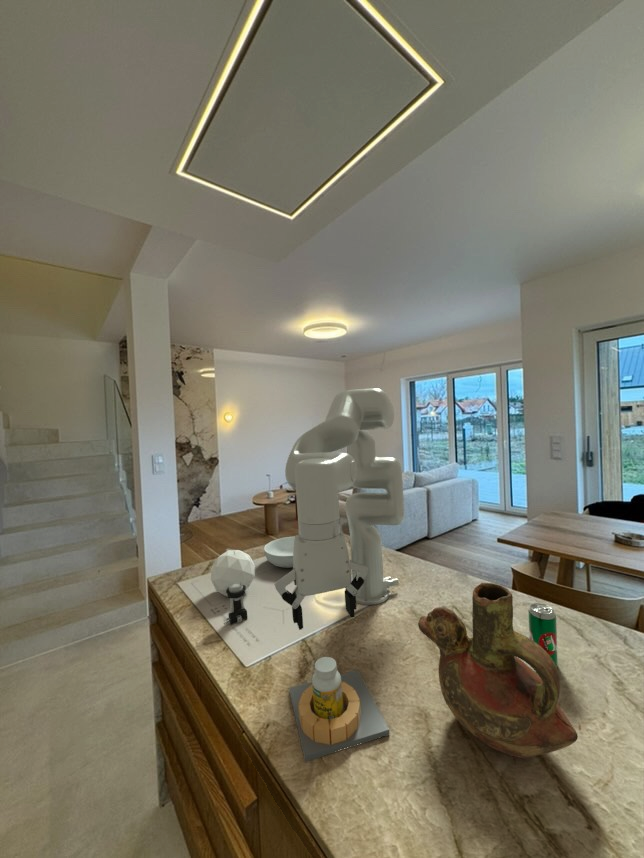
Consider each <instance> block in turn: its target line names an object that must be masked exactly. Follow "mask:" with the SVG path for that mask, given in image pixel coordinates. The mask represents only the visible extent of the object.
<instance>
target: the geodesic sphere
mask: <svg viewBox="0 0 644 858" xmlns="http://www.w3.org/2000/svg"><path fill="white" fill-rule="evenodd" d="M225 550H226V551H225V552H223V553H222V554H221V555H219V556H218V557H217V558H216V560H215V561H214V562H213V564H212V566H211V568H210V580H211V583H212V585H213V587H214V589H215V592H218V593H220V594H222V595H224V596H226V597H228V595H227V593H226V589H227V588H228V587H229V586H230V585H231V584H233V583H236V582H239V583H242V585H244V586H245V587H246V590H248V589H249V587H250V586H251V584H252V582H253V581H254V579H255V575H256V574H255V572H256V567H255V563H254V561H253V559H252V557H251V556H250V554H248V553H246V552H245V551H242V550H240V549H235V548H234V549H233V548H230V547H229V548H226V549H225Z"/></svg>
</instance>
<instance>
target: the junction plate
mask: <svg viewBox="0 0 644 858" xmlns="http://www.w3.org/2000/svg"><path fill="white" fill-rule="evenodd" d="M340 676H341V681H342V683H343V682H345V683H347V684H348V685H350V686H351V687H353V688H354V690H355V691H356V693H357V695H358V697H359V699H360V711H361V716H360V722H359V727H358V729H357V730H356V731H355V732H354V733H353V734H352V735H351V736H350V737H349V738H346V740H345V741H341V742H338V743H335V744H331V742H330V745H329V744H324V743H319V742H315V740H314V741H313V740H312V739H310V738H309V737H308V736H307V735H306V734H305V733H304V732H303V730H302V728H301V724H300V720H299V708H298V703H299V701H300V698H301V696H302V693H303V692H304V691H305V690H306V689H307V688H308V687H309V686H311V685H312V681H310V682H306V683H303V684H299V685H296V686H292V687H290V686H289V687H288V690H289V696H290V701H291V705H292V709H293V713H294V718H295V722H296V726H297V730H298V731H297V733H298V737H299V740H300V745H301V749H302V752H303V753H302V754H303V758H304V762H309V761H313V760H315V759H318V758H321V756H322V757H325V756H328V755H331V754H333V752H335V751H338V750H340V749H344V748H347V747H350V746H353V747H355V746H354V745H357V744H360V743H363V744H365V743H364V742H366V743H369V742H372V741H374V740H373V739H375V740H378V739H377V738H379V737H380V738H379V739H381V737H382V736H385V735H386V736H385V737H387V735H388V736H390V735H391V734H390V728H389V726H388V724H387V722H386V721H385V718H384V716H383V714H382V713H381V711H380V708H379V707H378V705H377V703H376V701H375V700H374V697H373V696H372V694H371V692H370V689H369V688H368V686H367V684H366V682H365V680H364V679H363V677H362V674H361V673H360V671H359V669H357V670H353V671H348V672H345V673H340ZM346 710H347V707H346V706H345V705H344V704H343V713H344V712H345V711H346ZM312 712H313V713H314V708H313V710H312ZM314 714H315V713H314ZM389 734H390V735H389ZM382 738H383V737H382ZM371 740H372V741H371ZM368 741H369V742H368ZM360 745H361V744H360ZM357 746H358V745H357ZM350 748H351V747H350ZM347 749H348V748H347ZM344 750H345V749H344ZM338 752H339V751H338ZM330 753H331V754H330ZM335 753H336V752H335ZM327 754H328V755H327Z"/></svg>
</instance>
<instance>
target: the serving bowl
mask: <svg viewBox="0 0 644 858" xmlns="http://www.w3.org/2000/svg"><path fill="white" fill-rule="evenodd" d="M294 539H295V536H287V537H280V538H278V539H274V540H271V541H270V542H268V543H266V544H265V545H264V547H263V551H264V555H265V558H266V560H267V561H268V562H269V563H271V564H272V565H274V566H275V567H279V568H287V569H288V568H293V547H294Z"/></svg>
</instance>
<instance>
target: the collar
mask: <svg viewBox="0 0 644 858" xmlns="http://www.w3.org/2000/svg"><path fill="white" fill-rule="evenodd" d="M341 683H342V681H341ZM342 697H343V704H344V705H345V706H346V707H347V710H346V711H345V712H344V713H343V714H342V715H341V716H340V717H337V718H334V719H330V720H329V719H323V718H319V717H318V716H316V715H315V714H314V713H313V712H312V710H313V708H314V700H313V686H312V685H311V686H309V687H308V688H307V689H306V690H305V691H304V692H303V693H302V696H301V698H300V701H299V703H298V708H299V720H300V724H301V728H302V730H303V732H304V733H305V734H306V735H307V736H308V737H309V738H310V739H312V740H313V741H314V740H315V742H319V743H324V744H329V745H330V742H331V744H335V743H338V742H341V741H345V740H346V738H349V737H350V736H351V735H352V734H353V733H354V732H355V731H356V730H357V729H358V727H359V722H360V716H361V711H360V699H359V697H358V695H357V693H356V691H355V690H354V688H353V687H351V686H350V685H348V684H347V683H345V682H343V683H342Z"/></svg>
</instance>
